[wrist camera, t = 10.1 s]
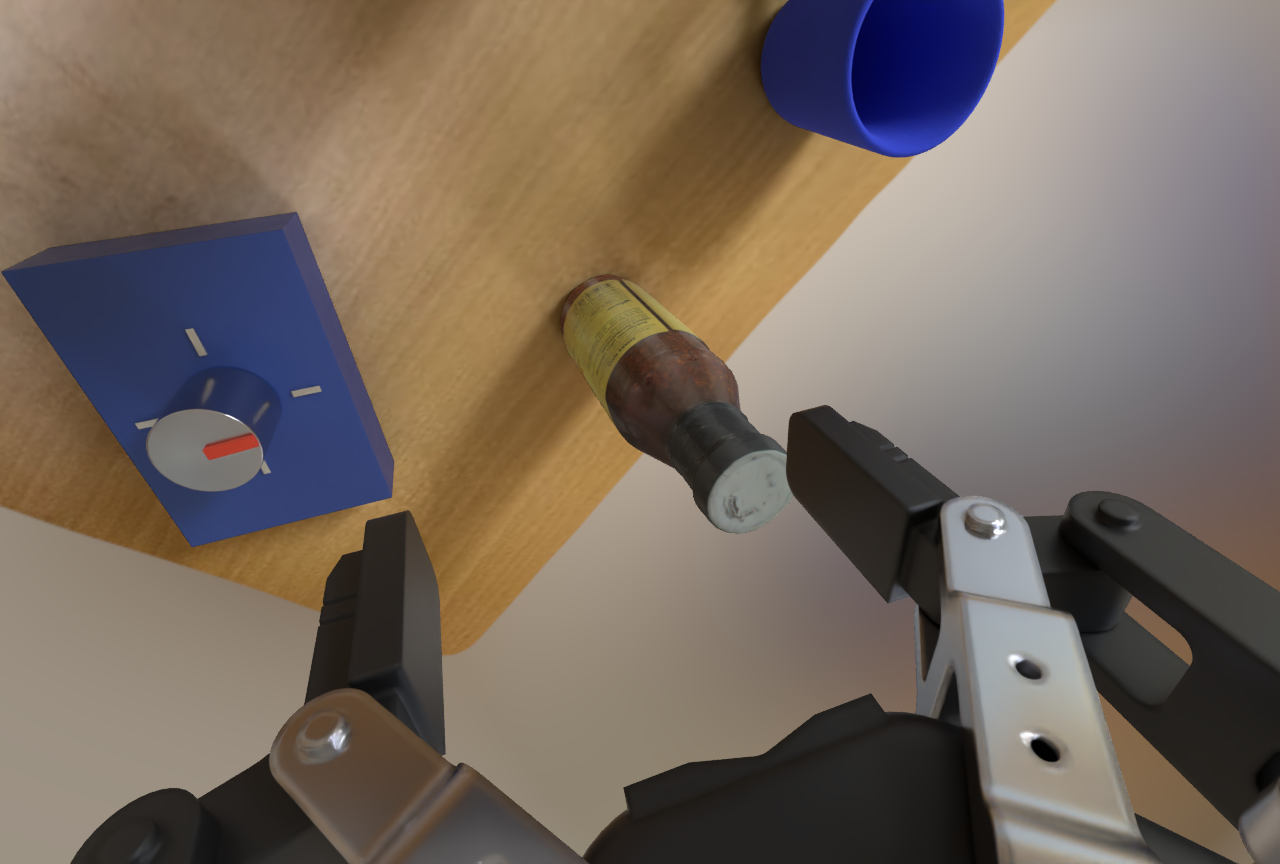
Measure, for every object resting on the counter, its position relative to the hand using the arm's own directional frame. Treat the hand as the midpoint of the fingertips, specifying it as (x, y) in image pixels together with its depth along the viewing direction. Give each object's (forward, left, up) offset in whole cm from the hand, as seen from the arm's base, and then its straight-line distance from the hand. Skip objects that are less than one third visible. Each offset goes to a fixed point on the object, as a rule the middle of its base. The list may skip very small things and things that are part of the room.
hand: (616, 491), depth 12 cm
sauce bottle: (+7, +6, -26) cm, 28 cm away
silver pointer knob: (+6, -15, -22) cm, 27 cm away
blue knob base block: (+6, -15, -26) cm, 31 cm away
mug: (-8, +19, -26) cm, 33 cm away
